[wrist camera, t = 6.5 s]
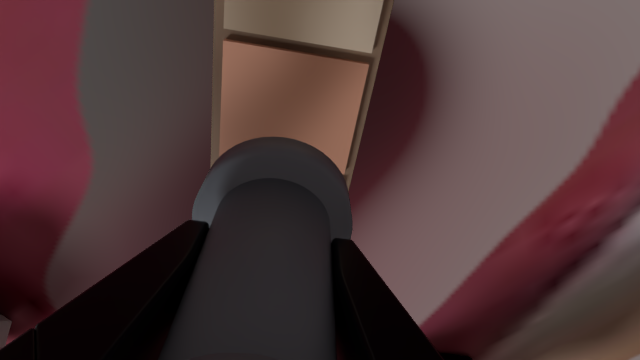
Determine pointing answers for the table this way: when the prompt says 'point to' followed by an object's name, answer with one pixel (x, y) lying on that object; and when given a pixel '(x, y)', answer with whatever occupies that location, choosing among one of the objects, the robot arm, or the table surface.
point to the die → (4, 330)
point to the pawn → (264, 257)
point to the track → (296, 72)
